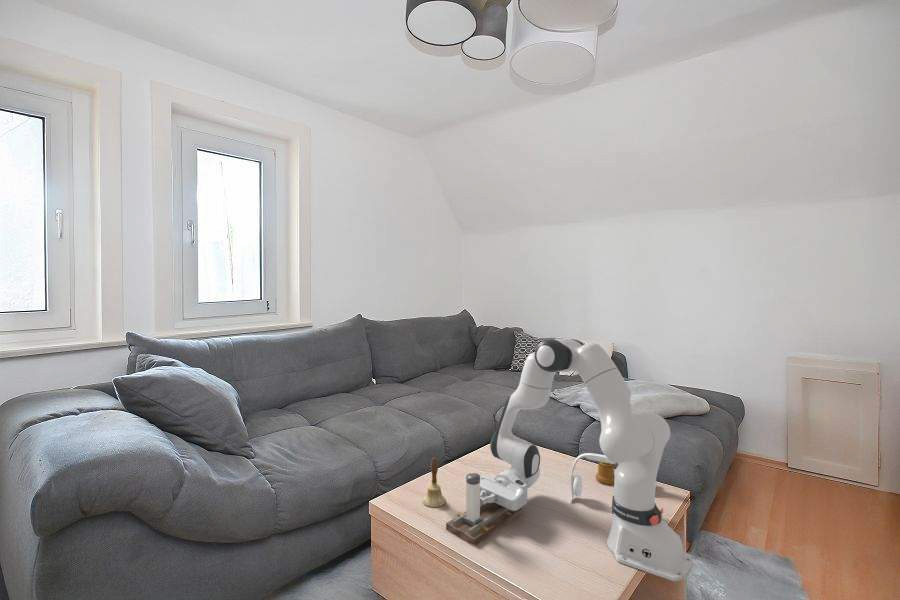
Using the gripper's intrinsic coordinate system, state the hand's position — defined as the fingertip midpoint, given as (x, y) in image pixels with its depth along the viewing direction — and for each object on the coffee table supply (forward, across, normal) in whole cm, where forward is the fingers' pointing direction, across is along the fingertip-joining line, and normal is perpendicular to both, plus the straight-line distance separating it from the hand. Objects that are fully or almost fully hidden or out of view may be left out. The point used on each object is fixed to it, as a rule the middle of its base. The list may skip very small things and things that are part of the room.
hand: (480, 500), depth 140 cm
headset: (-38, +22, +8) cm, 45 cm away
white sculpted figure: (-60, +30, +8) cm, 68 cm away
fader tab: (+3, 0, +6) cm, 7 cm away
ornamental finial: (-56, +16, +8) cm, 59 cm away
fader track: (-3, 0, +8) cm, 8 cm away
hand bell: (0, -21, +8) cm, 23 cm away
